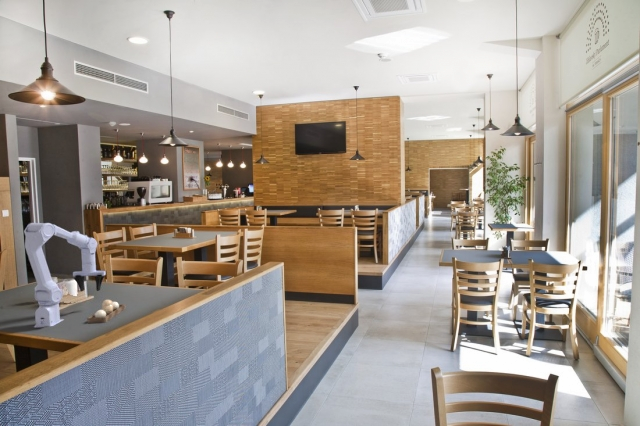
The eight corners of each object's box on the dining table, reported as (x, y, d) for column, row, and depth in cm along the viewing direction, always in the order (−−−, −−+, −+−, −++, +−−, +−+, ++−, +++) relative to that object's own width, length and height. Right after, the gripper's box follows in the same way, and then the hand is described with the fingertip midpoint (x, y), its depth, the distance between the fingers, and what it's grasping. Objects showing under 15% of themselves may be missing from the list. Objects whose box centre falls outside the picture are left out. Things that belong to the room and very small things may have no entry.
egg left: (103, 321, 191) (103, 311, 191) (93, 321, 191) (92, 311, 191) (108, 318, 196) (107, 308, 195) (98, 318, 196) (97, 308, 195)
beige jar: (110, 316, 198) (109, 301, 198) (100, 316, 198) (99, 300, 198) (114, 313, 202) (114, 298, 202) (105, 313, 202) (104, 298, 202)
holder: (105, 323, 190) (105, 317, 190) (87, 324, 190) (87, 318, 189) (125, 309, 211) (125, 304, 211) (109, 310, 211) (109, 304, 211)
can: (71, 304, 223) (70, 280, 223) (60, 303, 225) (59, 280, 224) (80, 300, 230) (79, 278, 229) (70, 300, 231) (68, 277, 230)
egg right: (116, 312, 205) (116, 302, 205) (107, 312, 205) (106, 303, 204) (120, 309, 209) (120, 300, 209) (111, 309, 209) (110, 300, 209)
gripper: (107, 260, 215) (109, 288, 215) (77, 261, 214) (79, 289, 215) (101, 263, 207) (102, 291, 208) (69, 264, 207) (71, 292, 208)
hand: (90, 290), depth 211 cm, fingers open, 7 cm apart
